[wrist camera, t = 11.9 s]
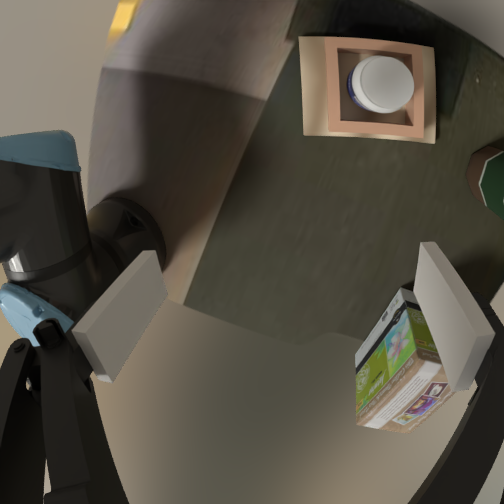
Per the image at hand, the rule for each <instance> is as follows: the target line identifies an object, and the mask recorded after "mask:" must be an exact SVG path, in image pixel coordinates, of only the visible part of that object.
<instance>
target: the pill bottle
mask: <svg viewBox="0 0 504 504" xmlns="http://www.w3.org/2000/svg"><path fill="white" fill-rule="evenodd" d="M346 87H347V91H348V94H349V96H350V98H351V99H352V101H353V102H354V103H355V104H356V105H358V106H359V107H361V108H363V109H365V110H368V111H373V112H377V113H391V112H394V111H397V110H399V109H400V108H401V107H403V106H404V105H405V104H406V103H407V102H408V101H409V100H410V99H411V97H412V95H413V92H414V80H413V77H412V74H411V72H410V71H409V69H408V68H407V67H406V66H405V65H404V64H403V63H402V62H400V61H399V60H397V59H395V58H392V57H385V56H371V57H368V58H365V59H364V60H362V61H361V62H359V63H358V64H357V65H356V66H355V67H354V68H353V69H352V70H351V72H350V73H349V75H348V77H347V82H346Z"/></svg>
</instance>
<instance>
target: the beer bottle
mask: <svg viewBox="0 0 504 504" xmlns="http://www.w3.org/2000/svg"><path fill="white" fill-rule="evenodd" d="M466 177H467V180H468V183H469V186H470V189H471V191H472V194H473V195H474V196H475V197H476V198H477V199H478V200H479V201H480V202H482V203H483V204H484V205H486V206H487V207H488V208H489V209H491V210H492V211H493V212H494V213H495V214H497V215H498V216H499V217H500V218H501V219H503V220H504V151H502V150H499V149H497V148H494V147H490V146H487V147H485V148H483V149H481V150H479V151H478V152H476V153H474V154H472V155H471V159H470V162H469V165H468V169H467V172H466Z"/></svg>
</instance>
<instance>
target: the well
mask: <svg viewBox="0 0 504 504" xmlns="http://www.w3.org/2000/svg"><path fill="white" fill-rule="evenodd" d="M324 50H325V65H326V84H327V110H328V130H329V132H350V133H368V134H383V135H395V136H405V137H415V138H423V137H424V78H423V59H422V46H420V45H414V44H407V43H400V42H392V41H384V40H374V39H362V38H345V37H325V38H324ZM338 53H353V54H368V55H379V56H389V57H397V58H404V65H405V66H406V67H407V68H408V69H409V71H410V72H411V74H412V77H413V80H414V92H413V95H412V97H411V99H410V100H409V101H408V102H407V103H406V104H405V124H402V123H391V122H379V121H365V120H346V119H340V90H339V69H338Z"/></svg>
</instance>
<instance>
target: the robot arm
mask: <svg viewBox="0 0 504 504" xmlns="http://www.w3.org/2000/svg"><path fill="white" fill-rule="evenodd" d="M80 171H81V167H80V166H79V162H78V157H77V150H76V144H75V140H74V138H73V136H72V135H71V134H70V133H69V132H67V131H64V130H53V131H43V132H34V133H27V134H18V135H11V136H5V137H0V263H2V265H3V268H4V270H5V274H6V276H7V279H8V283H5V284H3V285H2V287H1V289H0V307H1V310H2V312H3V313H4V315H5V317H6V319H7V320H8V322H9V323H10V324H11V326H12V327H13V328H14V329H15V331H16V332H17V333H18V334H19V335H20V336H21V337H22V338H20V339H17V340H16V341H14V342H13V343H12V344H11V345H10V348H9V349H8V351H7V353H6V356H5V358H4V361H3V363H2V366H1V368H0V504H43V494H44V475H45V463H46V459H47V466H48V472H49V478H50V484H51V492H49V493H46V494H45V495H44V504H129V502H128V499H127V497H126V494H125V492H124V490H123V486H122V484H121V481H120V478H119V475H118V473H117V470H116V467H115V464H114V461H113V458H112V455H111V451H110V448H109V445H108V441H107V438H106V434H105V431H104V427H103V424H102V420H101V416H100V412H99V408H98V404H97V399H96V395H95V391H94V386H93V382H92V380H91V378H90V374H91V373H92V371H94V373H95V374H96V376H97V378H98V379H99V380H101V381H105V382H110V383H113V382H114V380H115V379H116V377H117V375H118V374H119V372H120V370H121V368H122V367H123V365H124V364H125V362H126V360H127V359H128V357H129V355H130V354H131V352H132V351H133V349H134V347H135V346H136V344H137V342H138V341H139V339H140V338H141V336H142V334H143V333H144V331H145V329H146V328H147V326H148V325H149V323H150V322H151V320H152V318H153V317H154V315H155V314H156V312H157V311H158V309H159V308H160V306H161V304H162V303H163V301H164V300H165V298H166V297H167V295H168V293H167V290H166V286H165V283H164V279H163V276H162V272H161V270H162V268H163V266H164V262H165V257H166V249H165V243H164V239H163V236H162V233H161V231H160V229H159V227H158V225H157V223H156V222H155V220H154V219H153V218H152V217H151V215H150V214H149V213H148V212H147V211H146V210H144V209H143V208H142V207H141V206H139V205H138V204H136V203H134V202H132V201H130V200H127V199H123V198H110V199H106V200H104V201H102V202H101V203H99V204H97V205H96V206H94V207H93V208H92V209H91V210H89V212H88V213H87V214H86V210H85V204H84V198H83V192H82V185H81V176H80ZM413 292H414V294H415V296H416V299H417V301H418V303H419V305H420V308H421V310H422V313H423V315H424V317H425V320H426V322H427V325H428V327H429V330H430V332H431V335H432V337H433V340H434V342H435V345H436V348H437V350H438V353H439V356H440V359H441V361H442V364H443V367H444V370H445V373H446V376H447V379H448V382H449V385H450V388H451V391H452V392H457V391H463V390H468V389H469V388H470V386H471V385H472V383H473V380H474V379H475V381H476V383H477V386H478V387H477V389H476V391H475V393H474V394H473V396H472V398H471V400H470V401H469V403H468V407H467V409H466V411H465V413H464V415H463V417H462V419H461V421H460V423H459V425H458V427H457V429H456V431H455V432H454V434H453V436H452V438H451V439H450V441H449V443H448V445H447V446H446V448H445V450H444V451H443V453H442V455H441V456H440V458H439V459H438V461H437V463H436V464H435V466H434V467H433V469H432V470H431V472H430V473H429V475H428V476H427V478H426V479H425V481H424V482H423V483H422V485H421V486H420V488H419V489H418V490H417V492H416V493H415V494H414V496H413V497H412V498H411V500H410V501H409V503H408V504H473V503H474V501H475V499H476V497H477V495H478V494H479V492H480V490H481V488H482V486H483V484H484V482H485V480H486V478H487V476H488V474H489V472H490V470H491V468H492V466H493V464H494V462H495V459H496V457H497V455H498V452H499V450H500V448H501V445H502V443H503V440H504V326H503V324H502V323H501V321H500V320H499V318H498V316H497V315H496V313H495V312H494V310H493V309H492V307H491V305H490V304H489V302H488V301H487V299H485V298H484V297H483V296H482V295H480V294H479V293H478V292H477V293H470V291H469V290H468V288H467V287H466V285H465V284H464V282H463V281H462V279H461V278H460V276H459V275H458V273H457V272H456V271H455V269H454V268H453V266H452V265H451V263H450V262H449V261H448V259H447V258H446V256H445V255H444V254H443V252H442V251H441V250H440V248H439V247H438V246H437V244H436V243H435V242H421V243H420V251H419V258H418V265H417V272H416V278H415V284H414V290H413ZM26 381H27V383H28V384H29V385H30V387H29V390H27V388H26ZM500 504H504V489H503V494H502V498H501V502H500Z"/></svg>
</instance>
